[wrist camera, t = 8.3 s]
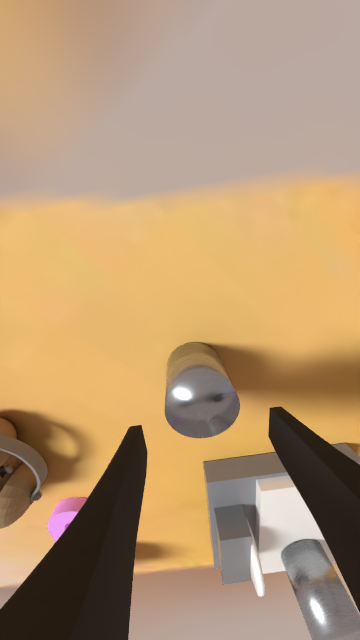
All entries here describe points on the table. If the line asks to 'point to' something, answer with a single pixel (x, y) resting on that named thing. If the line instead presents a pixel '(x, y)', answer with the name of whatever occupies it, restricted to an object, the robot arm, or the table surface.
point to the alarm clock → (18, 475)
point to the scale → (257, 516)
